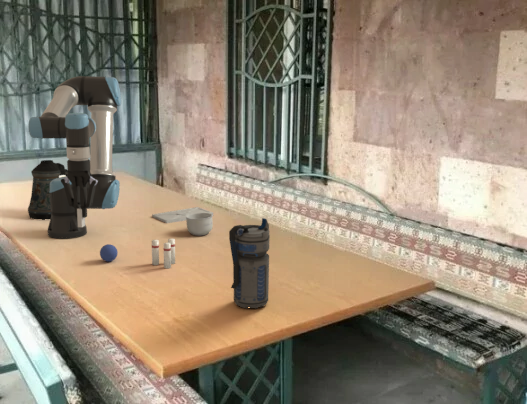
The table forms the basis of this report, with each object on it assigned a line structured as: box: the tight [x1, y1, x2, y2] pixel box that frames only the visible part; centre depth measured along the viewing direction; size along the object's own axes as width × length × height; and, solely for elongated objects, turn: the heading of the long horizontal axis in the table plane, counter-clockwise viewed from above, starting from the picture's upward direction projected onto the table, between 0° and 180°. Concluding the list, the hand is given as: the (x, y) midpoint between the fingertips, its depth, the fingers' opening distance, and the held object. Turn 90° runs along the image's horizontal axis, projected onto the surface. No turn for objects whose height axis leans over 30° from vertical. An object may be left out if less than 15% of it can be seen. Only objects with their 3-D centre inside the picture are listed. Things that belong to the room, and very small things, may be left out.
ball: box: [99, 244, 118, 262], centre depth 215 cm, size 6×6×6 cm
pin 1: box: [162, 242, 172, 269], centre depth 209 cm, size 2×2×8 cm
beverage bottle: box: [228, 217, 271, 309], centre depth 176 cm, size 10×13×25 cm
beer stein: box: [27, 159, 68, 221], centre depth 277 cm, size 16×19×25 cm
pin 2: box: [167, 238, 176, 265], centre depth 214 cm, size 2×2×8 cm
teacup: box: [185, 212, 214, 237], centre depth 253 cm, size 14×11×8 cm
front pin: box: [151, 239, 160, 266], centre depth 213 cm, size 2×2×8 cm
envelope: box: [151, 206, 214, 224], centre depth 281 cm, size 24×2×14 cm
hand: (81, 226), depth 214 cm, fingers closed
